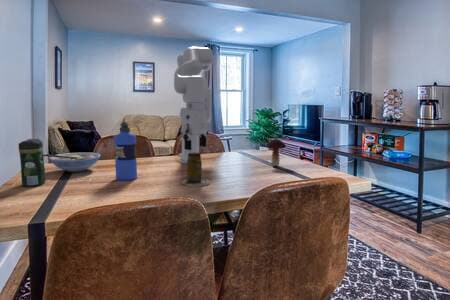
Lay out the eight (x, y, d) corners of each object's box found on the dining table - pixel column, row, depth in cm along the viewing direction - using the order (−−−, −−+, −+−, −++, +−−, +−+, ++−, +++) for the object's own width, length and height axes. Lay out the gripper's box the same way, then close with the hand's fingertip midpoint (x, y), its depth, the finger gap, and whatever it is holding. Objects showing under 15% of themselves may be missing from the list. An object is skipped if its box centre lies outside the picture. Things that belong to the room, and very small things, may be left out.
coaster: (175, 183, 136) (175, 182, 136) (194, 178, 146) (194, 176, 146) (197, 188, 129) (197, 186, 129) (215, 182, 139) (215, 180, 139)
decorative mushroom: (276, 169, 167) (277, 140, 165) (260, 166, 175) (261, 138, 173) (289, 166, 174) (290, 139, 172) (273, 163, 182) (274, 137, 180)
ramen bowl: (112, 168, 165) (112, 152, 164) (75, 178, 144) (73, 160, 143) (77, 164, 175) (76, 149, 174) (37, 172, 155) (36, 155, 154)
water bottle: (125, 182, 138) (123, 123, 135) (111, 179, 143) (108, 122, 140) (141, 177, 146) (140, 122, 143) (127, 175, 151) (125, 121, 147)
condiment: (198, 178, 143) (198, 151, 141) (206, 183, 135) (206, 154, 133) (183, 180, 139) (182, 152, 137) (190, 184, 132) (190, 155, 130)
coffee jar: (27, 181, 137) (23, 138, 134) (48, 180, 139) (44, 137, 136) (18, 187, 128) (14, 140, 125) (41, 186, 130) (37, 140, 127)
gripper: (188, 107, 124) (188, 152, 127) (215, 106, 138) (215, 146, 141) (174, 107, 128) (174, 149, 131) (201, 105, 142) (201, 144, 145)
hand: (195, 148), depth 136 cm, fingers open, 9 cm apart
